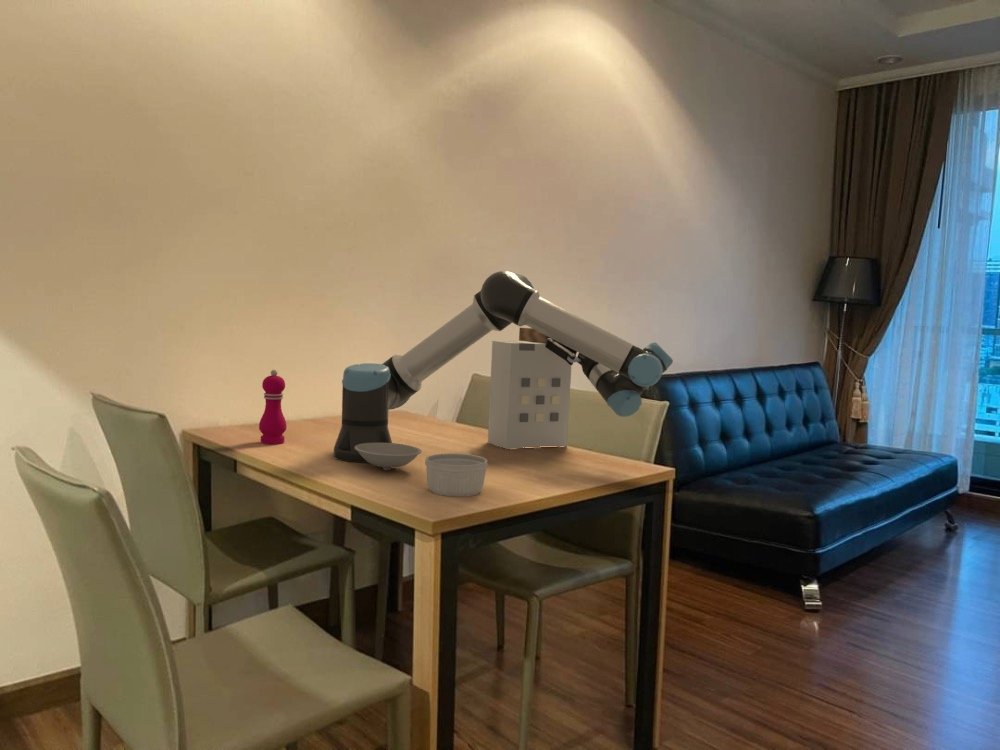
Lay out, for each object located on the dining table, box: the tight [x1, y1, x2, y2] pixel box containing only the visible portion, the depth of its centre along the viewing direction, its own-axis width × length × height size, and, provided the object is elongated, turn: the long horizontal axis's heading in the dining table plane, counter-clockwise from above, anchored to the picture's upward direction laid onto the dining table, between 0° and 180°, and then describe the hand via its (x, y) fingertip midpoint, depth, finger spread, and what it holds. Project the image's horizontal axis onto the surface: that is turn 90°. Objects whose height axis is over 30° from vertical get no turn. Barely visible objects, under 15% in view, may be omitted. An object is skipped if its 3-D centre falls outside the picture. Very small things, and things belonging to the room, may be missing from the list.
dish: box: [354, 442, 422, 471], centre depth 184 cm, size 18×14×5 cm
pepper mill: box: [258, 369, 287, 445], centre depth 211 cm, size 7×7×20 cm
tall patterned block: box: [487, 340, 572, 450], centre depth 227 cm, size 13×20×30 cm, turn 117°
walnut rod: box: [518, 327, 547, 343], centre depth 226 cm, size 32×4×4 cm, turn 27°
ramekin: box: [424, 452, 488, 498], centre depth 165 cm, size 13×13×7 cm
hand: (566, 328), depth 219 cm, fingers open, 13 cm apart
